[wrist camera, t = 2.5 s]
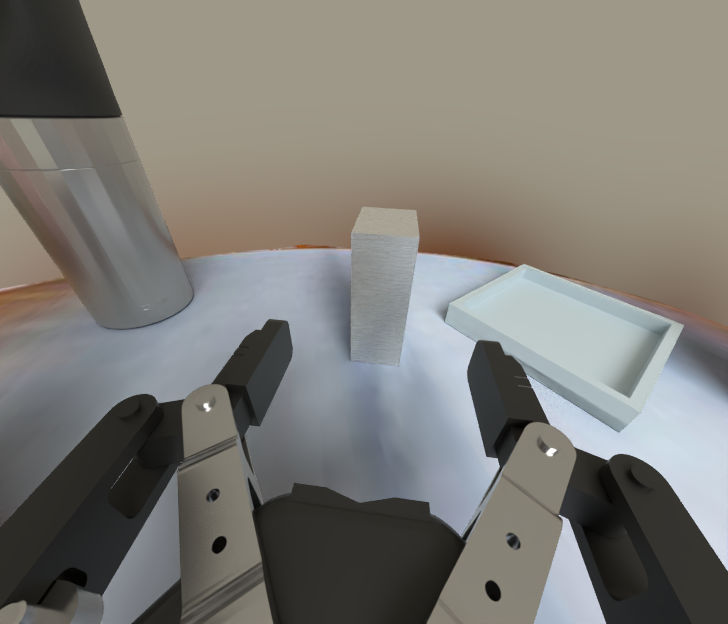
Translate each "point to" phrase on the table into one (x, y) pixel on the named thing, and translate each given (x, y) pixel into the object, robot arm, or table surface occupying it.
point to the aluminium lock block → (381, 282)
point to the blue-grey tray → (571, 339)
